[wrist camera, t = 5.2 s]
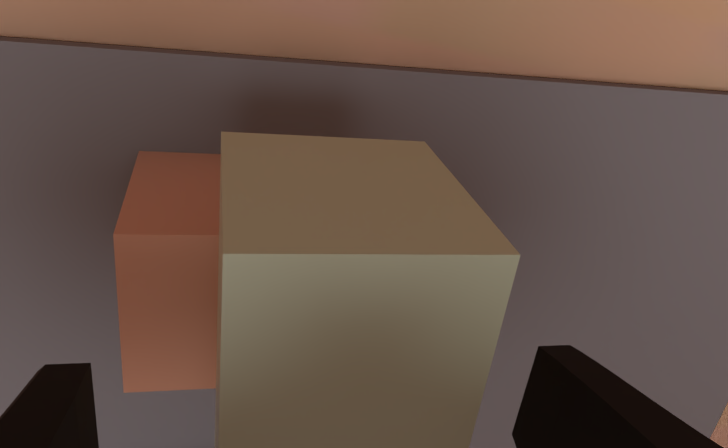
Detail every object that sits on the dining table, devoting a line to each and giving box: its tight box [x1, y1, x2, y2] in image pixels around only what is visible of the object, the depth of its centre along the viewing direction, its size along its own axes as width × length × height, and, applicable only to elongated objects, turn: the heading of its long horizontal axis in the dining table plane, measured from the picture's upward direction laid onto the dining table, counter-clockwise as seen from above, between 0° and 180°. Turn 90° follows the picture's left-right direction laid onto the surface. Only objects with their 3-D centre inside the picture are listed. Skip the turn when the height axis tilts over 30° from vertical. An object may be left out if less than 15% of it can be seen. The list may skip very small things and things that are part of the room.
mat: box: [0, 36, 728, 448], centre depth 19 cm, size 17×24×1 cm
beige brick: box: [215, 132, 520, 448], centre depth 10 cm, size 7×4×4 cm, turn 173°
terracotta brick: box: [113, 151, 221, 393], centre depth 14 cm, size 7×4×4 cm, turn 83°
